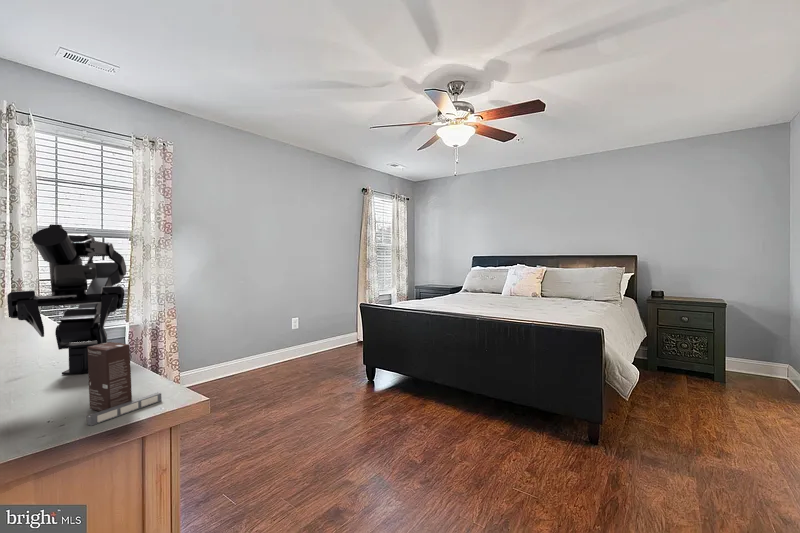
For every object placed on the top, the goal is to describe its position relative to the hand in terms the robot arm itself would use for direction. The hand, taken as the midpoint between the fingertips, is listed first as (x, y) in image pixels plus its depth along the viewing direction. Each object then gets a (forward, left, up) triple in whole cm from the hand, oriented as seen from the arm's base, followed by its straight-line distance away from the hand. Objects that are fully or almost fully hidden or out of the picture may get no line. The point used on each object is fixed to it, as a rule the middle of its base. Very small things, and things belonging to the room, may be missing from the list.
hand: (73, 332), depth 77 cm
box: (+11, +11, -13) cm, 20 cm away
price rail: (+13, +15, -13) cm, 24 cm away
